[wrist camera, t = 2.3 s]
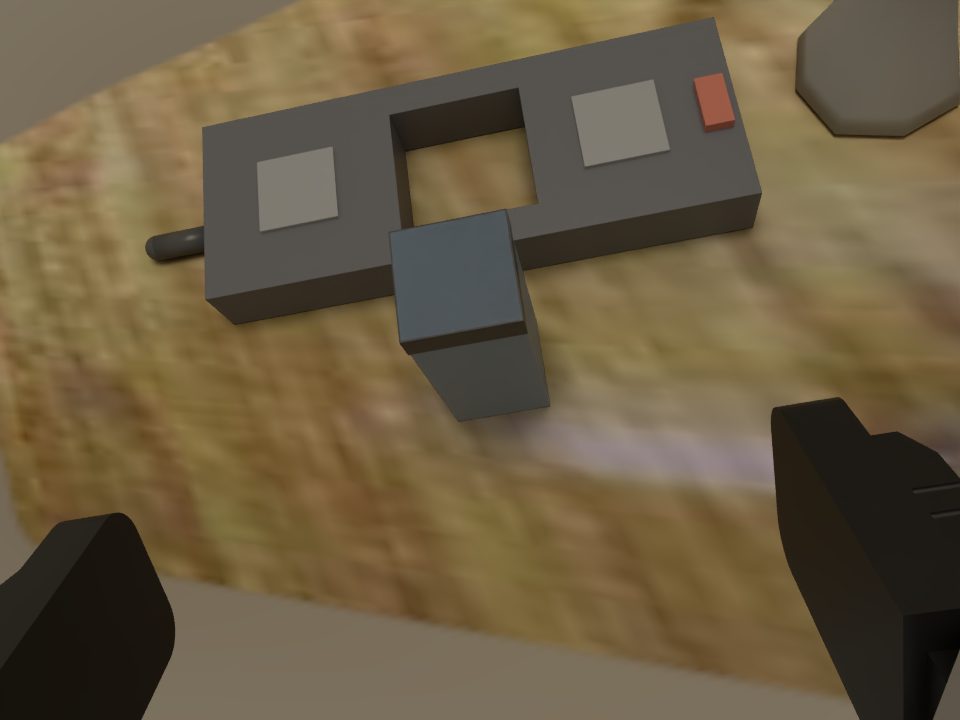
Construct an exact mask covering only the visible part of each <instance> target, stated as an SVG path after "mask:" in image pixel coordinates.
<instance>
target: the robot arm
mask: <svg viewBox="0 0 960 720" xmlns="http://www.w3.org/2000/svg"><path fill="white" fill-rule="evenodd" d="M771 433H772V447H773V460H774V473H775V487H776V500H777V514H778V523H779V530H780V535H781V540H782V544H783V548H784V552H785V556H786V559H787V562H788V565H789V567H790V570H791V572H792V575H793V577H794V579H795V581H796V583H797V585H798V587H799V590H800V592H801V594H802V596H803V598H804V600H805V603H806V605H807V607H808V609H809V611H810V613H811V616H812V618H813V620H814V622H815V624H816V626H817V629H818V631H819V633H820V635H821V637H822V639H823V641H824V644H825V646H826V648H827V650H828V652H829V654H830V657H831V659H832V661H833V663H834V665H835V667H836V670H837V672H838V674H839V676H840V678H841V680H842V682H843V685H844V687H845V689H846V691H847V693H848V695H849V698H850V700H851V702H852V704H853V706H854V708H855V710H856V713H857V715H858V717H859V719H860V720H960V478H959V477H958V476H957V474H956V473H955V472H954V471H953V470H952V469H951V468H950V466H949V465H948V464H947V463H946V462H945V461H944V459H943V458H942V457H941V456H940V455H939V454H938V453H937V452H936V451H934V450H932V449H930V448H928V447H926V446H924V445H922V444H920V443H918V442H917V441H915V440H913V439H911V438H909V437H907V436H905V435H903V434H901V433H899V432H898V431H897V432H891V433H884V434H878V435H870V434H869V433H868V432H867V430H866V429H865V428H864V426H863V425H862V424H861V422H860V421H859V420H858V418H857V417H856V416H855V414H854V413H853V412H852V410H851V409H850V408H849V407H848V405H847V404H846V403H845V401H844V400H843V399H841V398H840V397H835V398H829V399H823V400H817V401H811V402H805V403H799V404H792V405H786V406H780V407H775V408H773V410H772V414H771ZM174 642H175V622H174V616H173V612H172V608H171V606H170V603H169V601H168V599H167V596H166V594H165V592H164V590H163V587H162V585H161V583H160V580H159V578H158V576H157V574H156V571H155V569H154V567H153V565H152V562H151V560H150V558H149V556H148V553H147V551H146V549H145V547H144V544H143V542H142V540H141V538H140V535H139V533H138V531H137V529H136V527H135V525H134V523H133V522H132V520H131V519H130V518H129V517H128V516H126V515H125V514H123V513H111V514H105V515H99V516H93V517H87V518H81V519H74V520H68V521H63V522H60V523H58V524H57V525H55V527H54V528H53V529H52V530H51V531H50V532H49V534H48V535H47V536H46V537H45V539H44V540H43V541H42V543H41V544H40V545H39V546H38V548H37V549H36V550H35V551H34V553H33V554H32V555H31V556H30V558H29V559H28V560H27V562H26V563H25V564H24V566H23V567H22V568H21V569H20V570H19V571H18V572H17V573H15V574H14V575H13V576H12V577H10V578H9V579H8V580H6V581H5V582H4V583H3V584H1V585H0V720H141V719H142V717H143V715H144V713H145V711H146V709H147V706H148V704H149V702H150V700H151V698H152V696H153V694H154V692H155V690H156V688H157V686H158V683H159V681H160V679H161V677H162V675H163V673H164V671H165V669H166V667H167V665H168V662H169V660H170V658H171V655H172V652H173V648H174Z"/></svg>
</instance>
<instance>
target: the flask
mask: <svg viewBox="0 0 960 720" xmlns="http://www.w3.org/2000/svg"><path fill="white" fill-rule="evenodd" d="M796 90H797V91H798V93H799V94H800V95H801V96H802V97H803V98H804V99H805V101H806V102H807V103H808V104H809V105H810V106H811V107H812V109H813V110H814V111H815V112H816V113H817V114H818V115H819V117H820V118H821V119H822V120H823V121H824V122H825V123H826V125H827V126H828V127H829V128H830V129H831V130H832V131H833V132H834V134H849V135H883V136H905V135H907V134H908V133H910V132H912V131H914V130H915V129H917V128H919V127H921V126H922V125H924V124H926V123H928V122H929V121H931V120H933V119H934V118H936V117H938V116H940V115H941V114H943V113H945V112H947V111H948V110H950V109H952V108H954V107H955V106H957V105H959V104H960V80H959V46H958V0H835V1H834V2H833V3H832V4H831V5H830V6H829V7H828V8H827V9H826V10H825V11H824V12H823V13H822V14H821V15H820V16H819V17H818V18H817V19H816V20H815V21H814V22H813V23H812V24H811V25H810V26H809V27H808V28H807V29H806V30H805V31H804V32H803V33H802V34H801V35H800V36H799V38H798V53H797V80H796Z"/></svg>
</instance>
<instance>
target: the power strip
mask: <svg viewBox="0 0 960 720" xmlns="http://www.w3.org/2000/svg"><path fill="white" fill-rule="evenodd" d="M524 126H525V128H526V134H527V140H528V146H529V152H530V158H531V163H532V169H533V175H534V181H535V187H536V193H537V199H538V204H533V205H528V206H523V207H518V208H513V209H508V210H507V213H508V216H509V220H510V223H511V228H512V234H513V240H514V243H515V247H516V250H517V254H518V257H519V261H520V264H521V268H522V270H527V269H533V268H538V267H543V266H549V265H554V264H559V263H565V262H570V261H575V260H581V259H586V258H591V257H597V256H602V255H607V254H613V253H618V252H623V251H629V250H634V249H639V248H645V247H650V246H655V245H661V244H666V243H671V242H677V241H682V240H687V239H693V238H698V237H703V236H709V235H714V234H719V233H724V232H730V231H735V230H740V229H746V228H751V227H753V224H754V221H755V217H756V213H757V210H758V206H759V202H760V198H761V195H762V191H761V187H760V183H759V180H758V176H757V172H756V169H755V165H754V162H753V158H752V154H751V151H750V147H749V143H748V140H747V136H746V132H745V129H744V125H743V122H742V118H741V114H740V111H739V107H738V103H737V100H736V96H735V92H734V89H733V85H732V81H731V78H730V74H729V71H728V67H727V63H726V60H725V56H724V52H723V49H722V45H721V41H720V38H719V34H718V30H717V27H716V23H715V20H714V17H712V18H708V19H703V20H698V21H694V22H689V23H685V24H680V25H675V26H671V27H666V28H661V29H657V30H652V31H647V32H643V33H638V34H634V35H629V36H624V37H620V38H615V39H610V40H606V41H601V42H596V43H592V44H587V45H582V46H578V47H573V48H569V49H564V50H559V51H555V52H550V53H545V54H541V55H536V56H531V57H527V58H522V59H518V60H513V61H508V62H504V63H499V64H494V65H490V66H485V67H480V68H476V69H471V70H466V71H462V72H457V73H453V74H448V75H443V76H439V77H434V78H429V79H425V80H420V81H415V82H411V83H406V84H401V85H397V86H392V87H388V88H383V89H378V90H374V91H369V92H364V93H360V94H355V95H350V96H346V97H341V98H337V99H332V100H327V101H323V102H318V103H313V104H309V105H304V106H299V107H295V108H290V109H285V110H281V111H276V112H272V113H267V114H262V115H258V116H253V117H248V118H244V119H239V120H234V121H230V122H225V123H221V124H216V125H211V126H207V127H202V134H203V193H204V226H201V227H196V228H191V229H186V230H181V231H176V232H171V233H167V234H162V235H157V236H153V237H151V238H150V239H148V241H147V242H146V245H145V250H146V253H147V254H148V256H149V257H150V258H152V259H154V260H165V259H170V258H175V257H180V256H185V255H190V254H195V253H200V252H205V300H206V301H208V302H209V303H210V304H211V305H212V306H213V307H215V308H216V309H217V310H218V311H219V312H220V313H222V314H223V315H224V316H225V317H226V318H227V319H229V320H230V321H231V322H232V323H233V324H234V325H235V324H240V323H245V322H251V321H256V320H261V319H267V318H272V317H277V316H283V315H288V314H293V313H299V312H304V311H309V310H315V309H320V308H325V307H331V306H336V305H341V304H346V303H352V302H357V301H362V300H368V299H373V298H378V297H384V296H389V295H394V284H393V274H392V264H391V254H390V245H389V235H388V232H390V231H396V230H401V229H406V228H411V227H414V226H413V217H412V208H411V199H410V190H409V181H408V172H407V163H406V154H405V151H407V150H412V149H417V148H422V147H427V146H432V145H436V144H441V143H446V142H451V141H456V140H461V139H465V138H470V137H475V136H480V135H485V134H490V133H495V132H499V131H504V130H509V129H514V128H519V127H524Z"/></svg>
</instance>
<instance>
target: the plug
mask: <svg viewBox="0 0 960 720" xmlns="http://www.w3.org/2000/svg"><path fill="white" fill-rule="evenodd" d="M388 235H389V245H390V254H391V264H392V274H393V284H394V294H395V304H396V314H397V324H398V334H399V343H400V345H401V346H402V347H403V349H404V350H405V351H406V353H407V354H408V355H411V356H412V358H413V359H414V360H415V362H416V363H417V365H418V366H419V367H420V369H421V370H422V371H423V373H424V374H425V376H426V377H427V378H428V380H429V381H430V383H431V384H432V385H433V387H434V388H435V389H436V391H437V392H438V394H439V395H440V396H441V398H442V399H443V401H444V402H445V403H446V405H447V406H448V408H449V409H450V410H451V412H452V413H453V414H454V416H455V417H456V419H457V420H458V421H465V420H471V419H477V418H482V417H488V416H494V415H500V414H506V413H512V412H518V411H524V410H530V409H535V408H541V407H547V406H550V401H549V395H548V389H547V383H546V376H545V370H544V364H543V358H542V352H541V345H540V339H539V333H538V327H537V321H536V317H535V313H534V310H533V306H532V303H531V299H530V296H529V292H528V289H527V285H526V282H525V278H524V275H523V271H522V268H521V264H520V261H519V257H518V254H517V250H516V247H515V243H514V240H513V234H512V228H511V223H510V220H509V216H508V213H507V209H502V210H497V211H492V212H487V213H482V214H477V215H472V216H467V217H462V218H457V219H452V220H446V221H441V222H436V223H431V224H426V225H421V226H416V227H411V228H406V229H401V230H396V231H390V232H388Z"/></svg>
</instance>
